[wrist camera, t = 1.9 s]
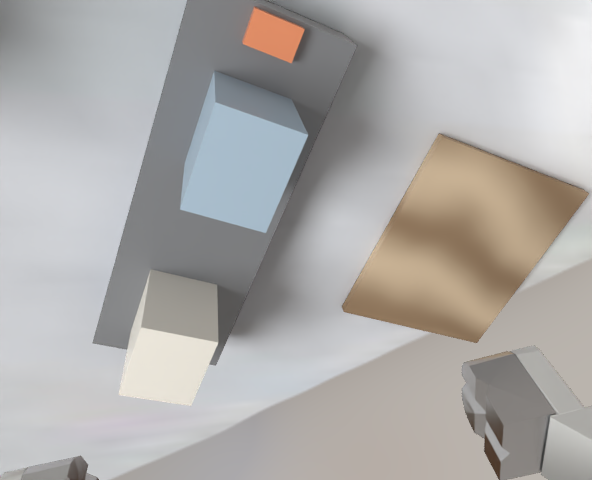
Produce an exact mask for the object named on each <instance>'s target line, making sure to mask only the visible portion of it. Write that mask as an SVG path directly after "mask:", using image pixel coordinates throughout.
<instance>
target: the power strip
mask: <svg viewBox="0 0 592 480" xmlns="http://www.w3.org/2000/svg"><path fill="white" fill-rule="evenodd" d="M356 47H357V45H356V44H355V43H354V42H353V41H351V40H350V39H349V38H348V37H347V36H345V35H344V34H343V33H340V32H338V31H336V30H333V29H331V28H329V27H326V26H324V25H322V24H320V23H317V22H315V21H313V20H310V19H308V18H306V17H303V16H301V15H299V14H296V13H294V12H292V11H290V10H287V9H285V8H283V7H280V6H278V5H276V4H273V3H271V2H269V1H266V0H187V4H186V8H185V11H184V15H183V18H182V22H181V26H180V29H179V33H178V36H177V40H176V44H175V47H174V51H173V54H172V58H171V62H170V65H169V69H168V73H167V76H166V80H165V83H164V87H163V91H162V94H161V98H160V101H159V105H158V109H157V112H156V116H155V119H154V123H153V127H152V130H151V134H150V137H149V141H148V145H147V148H146V152H145V156H144V159H143V163H142V166H141V170H140V174H139V177H138V181H137V184H136V188H135V192H134V195H133V199H132V202H131V206H130V210H129V213H128V217H127V220H126V224H125V228H124V231H123V235H122V239H121V242H120V246H119V249H118V253H117V257H116V260H115V264H114V267H113V271H112V275H111V278H110V282H109V285H108V289H107V293H106V296H105V300H104V303H103V307H102V311H101V314H100V318H99V322H98V325H97V329H96V332H95V336H94V340H93V343H94V344H99V345H105V346H111V347H116V348H122V349H128V343H129V338H130V333H131V329H132V326H133V323H134V320H135V317H136V314H137V311H138V308H139V304H140V301H141V298H142V295H143V292H144V289H145V286H146V283H147V279H148V276H149V273H150V270H151V269H152V270H156V271H160V272H165V273H169V274H173V275H178V276H182V277H186V278H190V279H195V280H199V281H203V282H208V283H212V284H216V285H217V299H218V345H217V347H216V349H215V352H214V354H213V356H212V359H211V361H210V363H209V364H210V365H216V364H217V362H218V360H219V357H220V355H221V353H222V351H223V348H224V346H225V344H226V342H227V339H228V337H229V335H230V332H231V330H232V328H233V326H234V323H235V321H236V319H237V317H238V314H239V312H240V310H241V308H242V305H243V303H244V301H245V299H246V296H247V294H248V292H249V289H250V287H251V285H252V283H253V280H254V278H255V276H256V274H257V271H258V269H259V267H260V265H261V262H262V260H263V258H264V256H265V253H266V251H267V249H268V246H269V244H270V242H271V240H272V237H273V235H274V233H275V231H276V228H277V226H278V224H279V222H280V219H281V217H282V215H283V213H284V210H285V208H286V206H287V204H288V201H289V199H290V197H291V194H292V192H293V190H294V188H295V185H296V183H297V181H298V179H299V176H300V174H301V172H302V170H303V167H304V165H305V163H306V161H307V158H308V156H309V154H310V151H311V149H312V147H313V145H314V142H315V140H316V138H317V136H318V133H319V131H320V129H321V127H322V124H323V122H324V120H325V118H326V115H327V113H328V111H329V108H330V106H331V104H332V102H333V99H334V97H335V95H336V93H337V90H338V88H339V86H340V84H341V81H342V79H343V77H344V75H345V72H346V70H347V68H348V66H349V63H350V61H351V59H352V56H353V54H354V52H355V50H356ZM214 71H217V72H220V73H222V74H225V75H228V76H230V77H233V78H236V79H238V80H241V81H244V82H246V83H249V84H252V85H254V86H257V87H260V88H263V89H265V90H268V91H271V92H273V93H276V94H279V95H281V96H284V97H287V98H289V99H292V101H293V103H294V105H295V107H296V110H297V112H298V114H299V116H300V118H301V120H302V122H303V125H304V127H305V129H306V131H307V133H308V137H307V139H306V141H305V144H304V146H303V148H302V151H301V153H300V155H299V158H298V160H297V162H296V165H295V167H294V169H293V171H292V174H291V176H290V178H289V181H288V183H287V185H286V188H285V190H284V192H283V195H282V197H281V199H280V202H279V204H278V206H277V208H276V211H275V213H274V215H273V218H272V220H271V222H270V225H269V227H268V229H267V232H266V233H263V232H260V231H256V230H253V229H249V228H245V227H242V226H238V225H234V224H231V223H227V222H224V221H220V220H216V219H213V218H209V217H205V216H202V215H198V214H195V213H191V212H187V211H184V210H180V204H181V194H182V184H183V175H184V165H185V161H186V157H187V154H188V151H189V148H190V145H191V142H192V139H193V136H194V132H195V129H196V126H197V123H198V120H199V117H200V114H201V111H202V107H203V104H204V101H205V98H206V95H207V92H208V89H209V86H210V82H211V79H212V76H213V73H214Z"/></svg>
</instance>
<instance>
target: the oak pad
mask: <svg viewBox="0 0 592 480" xmlns="http://www.w3.org/2000/svg"><path fill="white" fill-rule="evenodd" d="M588 194H589V193H587V192H586V191H585V190H583V189H580V188H578V187H575V186H573V185H570V184H568V183H565V182H562V181H560V180H557V179H555V178H552V177H550V176H547V175H544V174H542V173H539V172H537V171H534V170H532V169H529V168H526V167H524V166H521V165H519V164H516V163H514V162H511V161H508V160H506V159H503V158H501V157H498V156H496V155H493V154H491V153H488V152H485V151H483V150H480V149H478V148H475V147H473V146H470V145H467V144H465V143H462V142H460V141H457V140H455V139H452V138H449V137H447V136H444V135H442V134H438V136H437V138H436V140H435V141H434V143H433V145H432V147H431V149H430V150H429V152H428V154H427V156H426V157H425V159H424V161H423V163H422V165H421V166H420V168H419V170H418V172H417V173H416V175H415V177H414V179H413V181H412V182H411V184H410V186H409V188H408V190H407V191H406V193H405V195H404V197H403V198H402V200H401V202H400V204H399V206H398V207H397V209H396V211H395V213H394V215H393V216H392V218H391V220H390V222H389V223H388V225H387V227H386V229H385V231H384V232H383V234H382V236H381V238H380V240H379V241H378V243H377V245H376V247H375V248H374V250H373V252H372V254H371V256H370V257H369V259H368V261H367V263H366V265H365V266H364V268H363V270H362V272H361V273H360V275H359V277H358V279H357V281H356V282H355V284H354V286H353V288H352V289H351V291H350V293H349V295H348V297H347V298H346V300H345V302H344V304H343V306H342V308H343V311H344V312H347V313H351V314H355V315H359V316H364V317H368V318H372V319H376V320H381V321H385V322H389V323H393V324H398V325H402V326H406V327H411V328H415V329H419V330H423V331H428V332H432V333H436V334H441V335H445V336H449V337H453V338H457V339H462V340H466V341H470V342H474V343H477V342H478V341H479V339H480V338H481V337H482V335H483V334H484V333H485V331H486V330H487V329H488V327H489V326H490V325H491V323H492V322H493V321H494V319H495V318H496V316H497V315H498V314H499V313H500V311H501V310H502V309H503V307H504V306H505V305H506V303H507V302H508V301H509V299H510V298H511V297H512V295H513V294H514V293H515V291H516V290H517V289H518V288H519V286H520V285H521V284H522V282H523V281H524V280H525V278H526V277H527V276H528V274H529V273H530V272H531V270H532V269H533V268H534V266H535V265H536V264H537V262H538V261H539V260H540V258H541V257H542V256H543V254H544V253H545V252H546V250H547V249H548V248H549V246H550V245H551V244H552V242H553V241H554V240H555V238H556V237H557V236H558V234H559V233H560V232H561V230H562V229H563V228H564V226H565V225H566V224H567V222H568V221H569V220H570V218H571V217H572V216H573V214H574V213H575V212H576V210H577V209H578V208H579V206H580V205H581V204H582V202H583V201H584V200H585V198H586V197H587V196H588Z"/></svg>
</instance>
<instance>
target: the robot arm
mask: <svg viewBox="0 0 592 480" xmlns="http://www.w3.org/2000/svg"><path fill="white" fill-rule="evenodd" d="M462 376H463V378H464V380H465V382H466V384H465V385H464V387H463V388H462V400H463V405H464V409H465V413H466V415H467V418H468V420H469V423H470V425H471V427H472V429H473V430H474V432H475V433H476V434H478V435H479V436H481V437H482V438H484V439H485V443H484V447H485V448H484V452H485V454H486V456H487V458H488V460H489V462H490V463H491V465H492V467H493V469H494V471H495V473H496V475H497V477H498V479H499V480H507V479H512V478H517V477H522V476H526V475H531V474H535V473H540V472H542V473H541V475H542V476H544V477H545V478H547V479H548V480H592V406H589V407H584V406H583V405H582V404H581V402H580V401H579V400H578V398H577V397H576V396H575V395H574V393H573V392H572V391H571V389H570V388H569V387H568V386H567V384H566V383H565V382H564V380H563V379H562V378H561V376H560V375H559V374H558V372H557V371H556V370H555V369H554V367H553V366H552V365H551V364H550V362H549V361H548V360H547V358H546V357H545V356H544V354H543V353H542V352H541V351H540V349H538V348H537V347H535V346H529V347H525V348H521V349H517V350H513V351H510V352H508V351H506V352H502V353H499V354H495V355H491V356H487V357H483V358H479V359H475V360H471V361H467V362H464V363H463V365H462ZM87 468H88V464H87V463H86V461H85V460H84V459H83V458H82V457H81V456H78V457H73V458H68V459H64V460H59V461H54V462H50V463H45V464H40V465H36V466H31V467H26V468H22V469H18V470H13V471H9V472H5V473H4V474H3V475H2V476H1V477H0V480H99V479H98V478H97V477H96V476H93V475H91V474H88V473H87Z"/></svg>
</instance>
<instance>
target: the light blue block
mask: <svg viewBox="0 0 592 480" xmlns="http://www.w3.org/2000/svg"><path fill="white" fill-rule="evenodd" d="M307 137H308V133H307V131H306V129H305V127H304V125H303V122H302V120H301V118H300V116H299V114H298V112H297V110H296V107H295V105H294V103H293V101H292V99H289V98H287V97H284V96H281V95H279V94H276V93H273V92H271V91H268V90H265V89H263V88H260V87H257V86H254V85H252V84H249V83H246V82H244V81H241V80H238V79H236V78H233V77H230V76H228V75H225V74H222V73H220V72H217V71H214V73H213V76H212V79H211V82H210V86H209V89H208V92H207V95H206V98H205V101H204V104H203V107H202V111H201V114H200V117H199V120H198V123H197V126H196V129H195V132H194V136H193V139H192V142H191V145H190V148H189V151H188V154H187V157H186V161H185V165H184V175H183V184H182V194H181V204H180V210H184V211H187V212H191V213H195V214H198V215H202V216H205V217H209V218H213V219H216V220H220V221H224V222H227V223H231V224H234V225H238V226H242V227H245V228H249V229H253V230H256V231H260V232H263V233H266V232H267V229H268V227H269V225H270V222H271V220H272V218H273V215H274V213H275V211H276V208H277V206H278V204H279V202H280V199H281V197H282V195H283V192H284V190H285V188H286V185H287V183H288V181H289V178H290V176H291V174H292V171H293V169H294V167H295V165H296V162H297V160H298V158H299V155H300V153H301V151H302V148H303V146H304V144H305V141H306V139H307Z"/></svg>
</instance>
